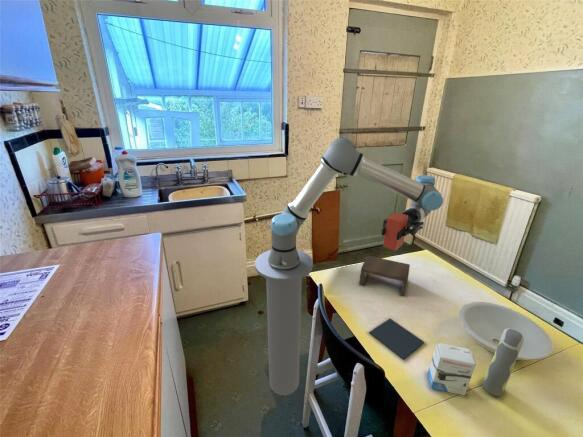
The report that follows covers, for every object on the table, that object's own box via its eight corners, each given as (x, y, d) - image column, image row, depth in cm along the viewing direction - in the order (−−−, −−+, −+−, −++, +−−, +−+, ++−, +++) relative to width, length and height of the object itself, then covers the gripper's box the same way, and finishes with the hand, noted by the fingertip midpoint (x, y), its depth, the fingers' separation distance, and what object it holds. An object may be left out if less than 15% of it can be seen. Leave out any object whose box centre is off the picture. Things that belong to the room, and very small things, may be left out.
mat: (369, 333, 95) (369, 331, 95) (389, 319, 101) (390, 318, 101) (403, 360, 85) (403, 358, 85) (423, 343, 91) (424, 341, 91)
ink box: (430, 389, 77) (439, 357, 72) (427, 373, 81) (435, 342, 77) (465, 396, 75) (477, 364, 70) (460, 379, 79) (470, 348, 75)
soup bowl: (448, 310, 105) (452, 296, 103) (523, 324, 99) (529, 309, 97) (465, 364, 84) (470, 347, 82) (562, 385, 78) (571, 368, 76)
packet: (382, 246, 110) (387, 218, 106) (391, 239, 116) (395, 212, 111) (395, 250, 107) (400, 221, 103) (403, 243, 113) (408, 215, 108)
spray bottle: (505, 389, 77) (529, 332, 69) (500, 401, 74) (525, 343, 66) (484, 377, 80) (505, 321, 72) (479, 388, 77) (500, 331, 69)
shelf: (359, 284, 120) (361, 268, 117) (364, 270, 130) (366, 255, 127) (404, 296, 113) (408, 279, 110) (406, 280, 123) (409, 264, 120)
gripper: (432, 230, 118) (413, 251, 101) (390, 219, 128) (366, 236, 112) (436, 213, 115) (417, 232, 98) (392, 203, 126) (368, 218, 109)
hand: (390, 234), depth 105 cm, fingers closed on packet, 5 cm apart
